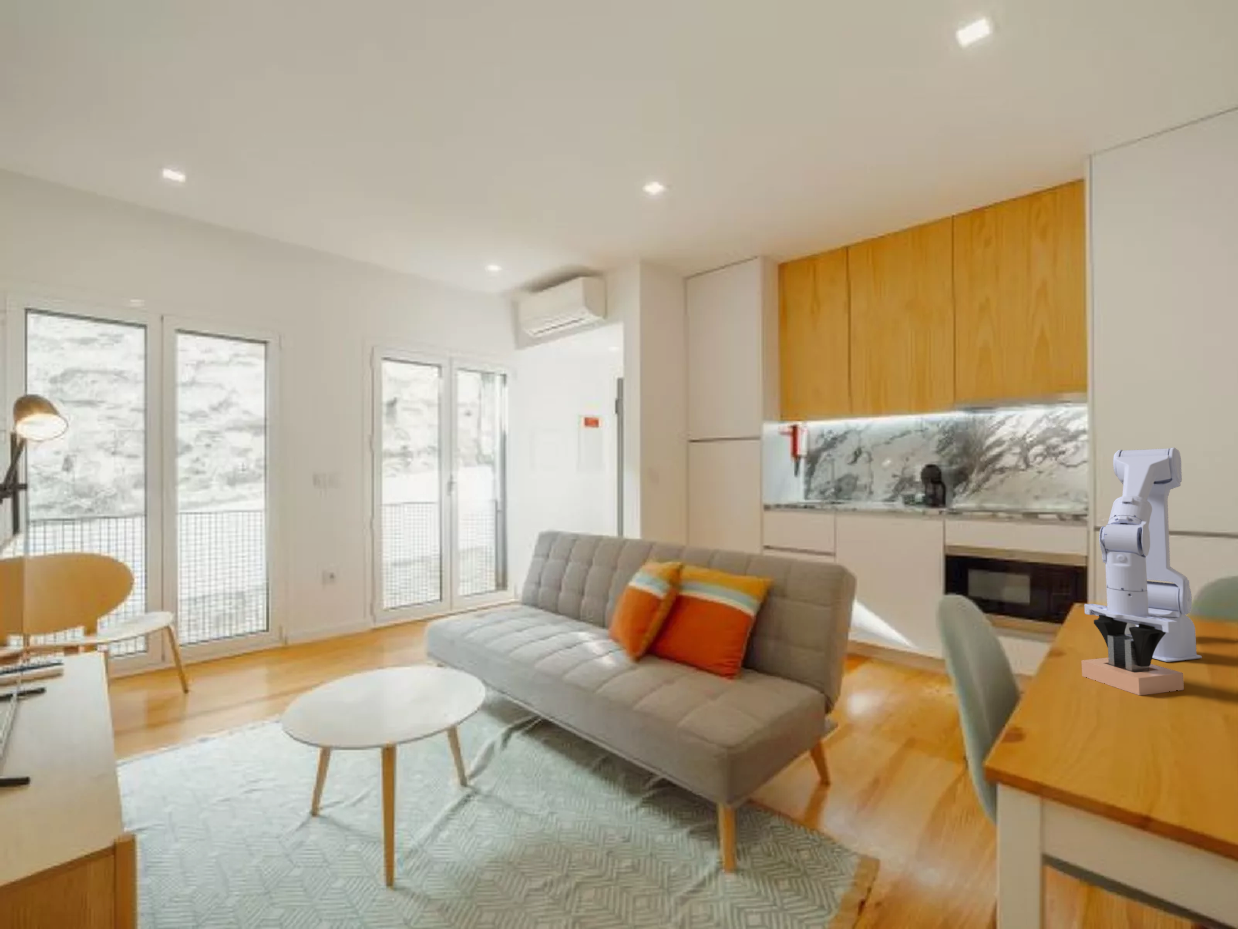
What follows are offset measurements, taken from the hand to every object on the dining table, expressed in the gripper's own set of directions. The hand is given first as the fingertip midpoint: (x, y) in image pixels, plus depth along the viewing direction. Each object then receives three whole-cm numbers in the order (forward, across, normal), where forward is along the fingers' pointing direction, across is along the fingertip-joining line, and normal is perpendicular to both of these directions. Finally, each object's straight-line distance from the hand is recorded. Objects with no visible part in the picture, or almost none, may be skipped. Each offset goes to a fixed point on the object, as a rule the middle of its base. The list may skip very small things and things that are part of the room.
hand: (1130, 661), depth 105 cm
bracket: (+1, 0, 0) cm, 1 cm away
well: (+4, 0, 0) cm, 4 cm away
